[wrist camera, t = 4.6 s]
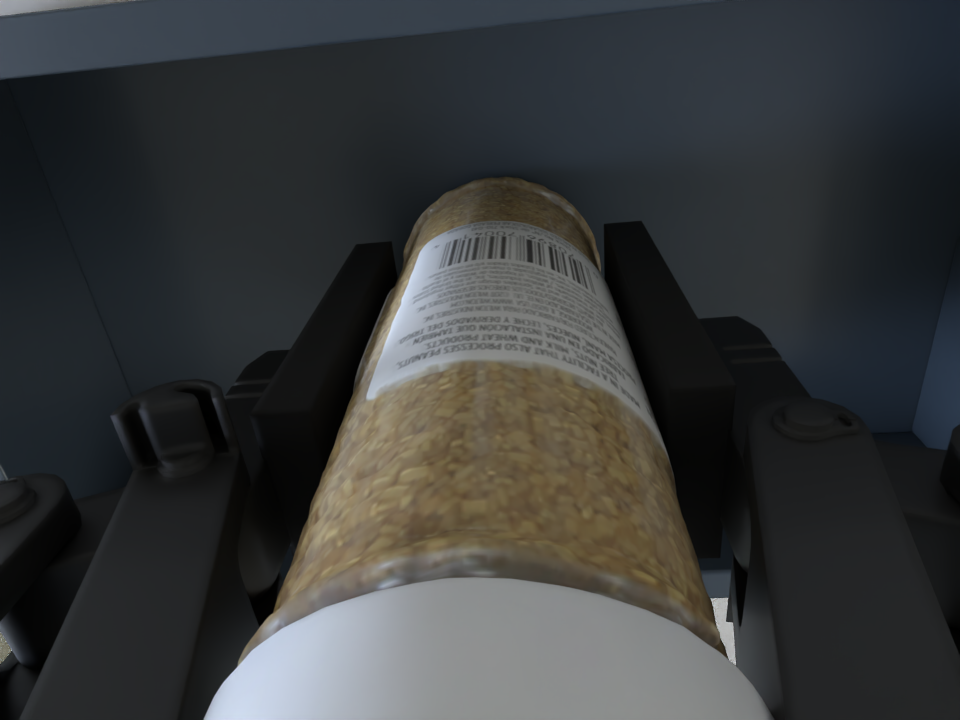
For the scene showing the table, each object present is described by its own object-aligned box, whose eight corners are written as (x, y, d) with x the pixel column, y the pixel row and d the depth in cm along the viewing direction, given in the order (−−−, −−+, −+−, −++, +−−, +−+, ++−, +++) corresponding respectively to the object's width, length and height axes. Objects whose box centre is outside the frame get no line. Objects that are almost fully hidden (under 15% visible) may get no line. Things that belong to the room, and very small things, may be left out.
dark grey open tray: (928, 445, 18) (1059, 587, 14) (151, 486, 20) (50, 623, 15) (1068, -94, 12) (1368, -143, 8) (-36, 32, 14) (-278, 48, 10)
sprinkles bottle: (375, 308, 16) (11, 1141, 4) (456, 131, 14) (191, 797, 2) (542, 384, 17) (614, 1262, 5) (641, 228, 15) (1122, 1078, 3)
